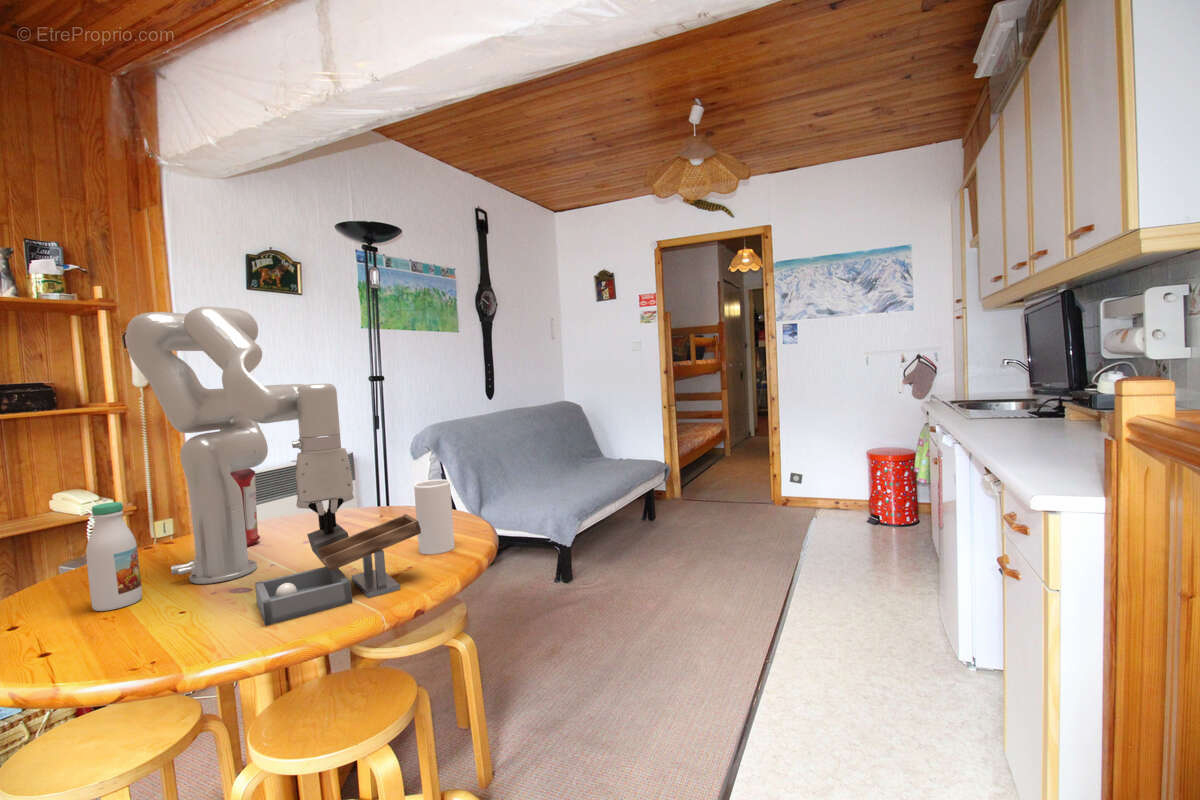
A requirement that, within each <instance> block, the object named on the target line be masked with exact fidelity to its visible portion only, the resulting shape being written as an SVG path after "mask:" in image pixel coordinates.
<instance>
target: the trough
mask: <svg viewBox="0 0 1200 800" xmlns="http://www.w3.org/2000/svg"><path fill="white" fill-rule="evenodd" d="M420 530H421V529H420V525H419V522H418V520H417V518H413V517H412V516H410V515H408V514H403V515H401V516H398V517H396V518H393V519H390V520H387V521H385V522H383V523H379V524H378V525H375V526H373V527H370V528H367V529H365V530H362V531H360V532H358V533H355V534H353V535H350V536H349V533H348V531H347V530H345V529H344V528H343V527H342V526H340V525H339V524H338V522H336V527H334V533H330V532H329V533H328V534H325V533H324V532H323V530H320V529H317V530H314V531H312V532H310V533H307V534H306V535H307V538H308V541H309V542H308V543H309V544H310V547H311V548H310V549H311V550H312V552H313V553H314V555H315V556H316V557H317V558H318V559H319V561H320V562H321V563H322V565H324V567H326V568H327V569H328V570H329V571H332V570H335V569H337V568H339V569H340V568H342V567H344V566H346V565H349V564H351V563H354V562H356V561H359V560H361V559H363V557H366V556H368V555H370V554H374V552H375V551H379V550H385V549H387V548H389V547H391V546H394V545H396V544H399V543H401V542H403V541H406V540H408V539H410V538H413V537H415V536H418V534H420V533H421V531H420Z"/></svg>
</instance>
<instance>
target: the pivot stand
mask: <svg viewBox="0 0 1200 800" xmlns="http://www.w3.org/2000/svg"><path fill="white" fill-rule="evenodd" d="M373 554H374V555H373V556H372V554H370V555H368V556H366V557H363V558H362V567H363V572H360V573H356V574H352V575H351V581H352V582H353V583H354V585H356V586H357V587H358V589H359V590H360V589H361V590H362V591H361V590H360V591H361V592H362V593H363V594H364V595H365V596H366V597H367V598H368V599H370V598H369V597H371V598H374V597H373V596H375V597H378V596H382V595H385V593H386V594H390V593H392V592H396V590H397V591H400V590H401V585H400V583H398V581H396V580H395V579H394V578H393V577H392V575H391V576H390V575H389V574H388V573H387V572H386V562H385V550H384V549H382V550H379V551H375V552H374V553H373ZM372 557H374V565H373V558H372ZM373 567H374V568H375V569H374V568H373ZM389 592H390V593H389ZM381 594H382V595H381ZM377 595H378V596H377Z"/></svg>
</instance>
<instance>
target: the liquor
mask: <svg viewBox="0 0 1200 800" xmlns="http://www.w3.org/2000/svg"><path fill="white" fill-rule="evenodd" d="M230 474H231V476H232V477H233V479H234V480H235V481H236V482H237V484H238V485H239V487H240V489H241V492H242V500H243V510H244V520H245V531H246V542H247V547H252V546H254V545H256V544H257V542H258V541H259V540H260V538H261V536H260V535H259V533H258V532H259V530H258V515H257V483H256V482H257V481H256V471H255V470H253V468H249V469H244V470H240V471H235V472H232V473H230Z"/></svg>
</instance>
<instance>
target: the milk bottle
mask: <svg viewBox="0 0 1200 800" xmlns="http://www.w3.org/2000/svg"><path fill="white" fill-rule="evenodd" d="M123 513H124V506H123V502H121V501H111V502H103V503H100V504H99V503H98V504H96V505H93V506H92V507H91V514H92V518H93V519H94V524H93V525H94V526H93V529H92V532H91V534H90V535H89V538H88V541H87V544H86V551H85V552H86V554H85V555H86V564H87V565H86V567H87V575H88V576H87V577H88V585H89V586H88V587H89V594H90V602H91V603H90V604H91V608H92V610H93V611H95V612H105V611H112V610H117V609H122V608H125V607H128V606H130V605H133V604H135V603H137V602H139V601H140V600H142V597H143V589H142V588H143V587H142V580H141V571H140V569H141V568H140V562H139V561H140V560H139V552H138V545H137V540H136V538H135V536H134V533H133V531H132V530H131V529H130V528H129V527H128V526H127V524H126V522H125V520H124V518H123Z"/></svg>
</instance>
